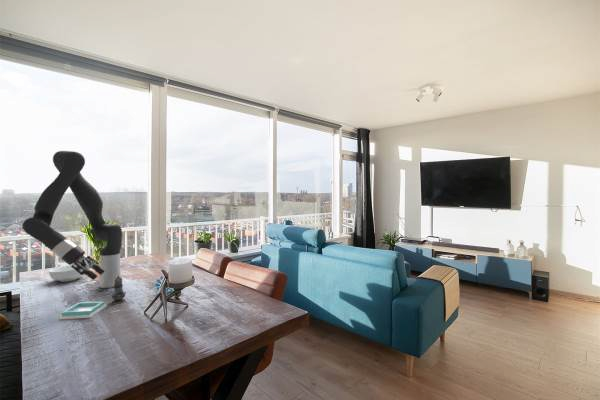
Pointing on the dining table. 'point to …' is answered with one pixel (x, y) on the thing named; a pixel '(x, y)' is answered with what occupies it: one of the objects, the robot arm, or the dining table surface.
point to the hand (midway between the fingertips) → (99, 275)
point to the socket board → (83, 310)
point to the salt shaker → (118, 291)
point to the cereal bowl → (64, 273)
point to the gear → (160, 283)
